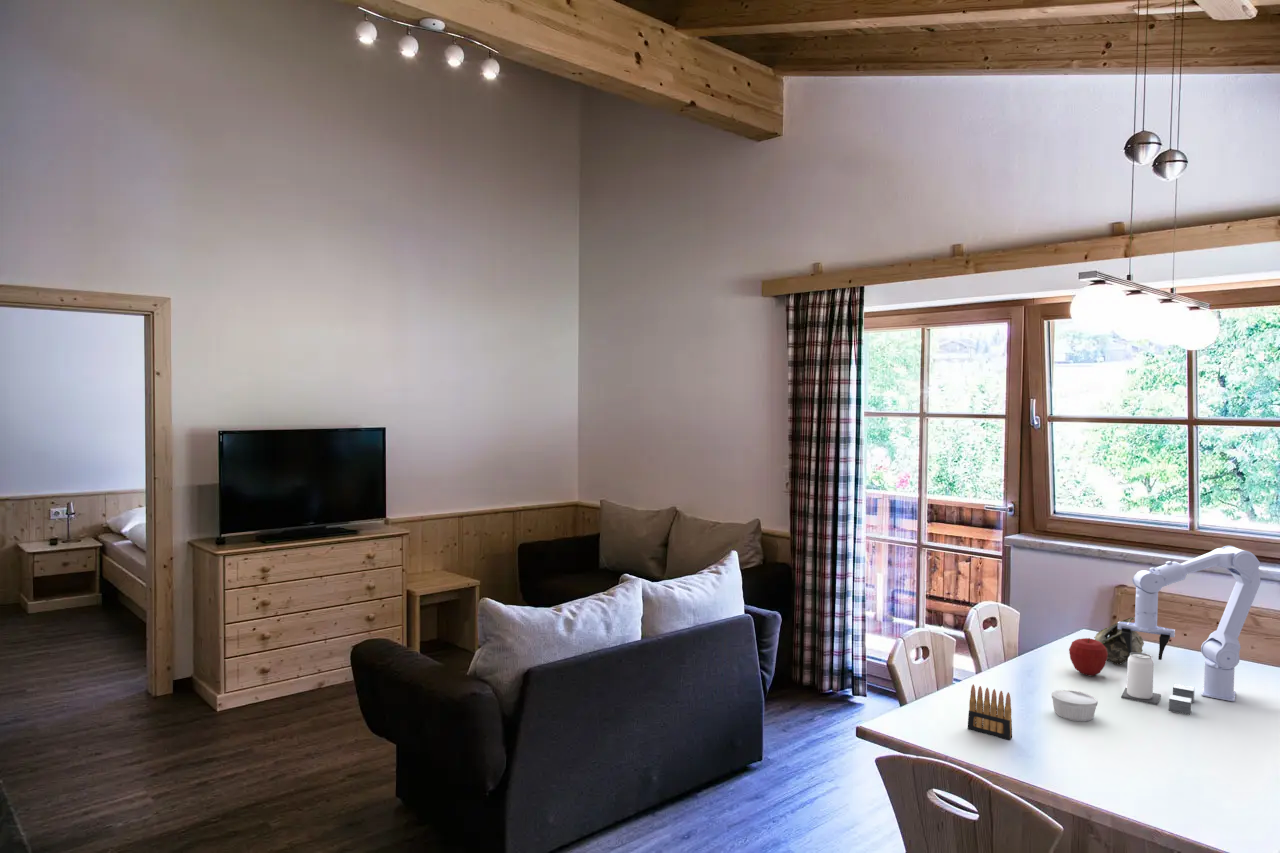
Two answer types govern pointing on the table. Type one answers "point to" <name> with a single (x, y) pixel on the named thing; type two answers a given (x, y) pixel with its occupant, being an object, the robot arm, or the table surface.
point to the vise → (1181, 699)
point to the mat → (1153, 700)
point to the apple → (1088, 656)
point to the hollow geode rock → (1118, 643)
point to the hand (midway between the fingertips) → (1145, 656)
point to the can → (1140, 676)
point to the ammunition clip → (990, 714)
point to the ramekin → (1074, 705)
